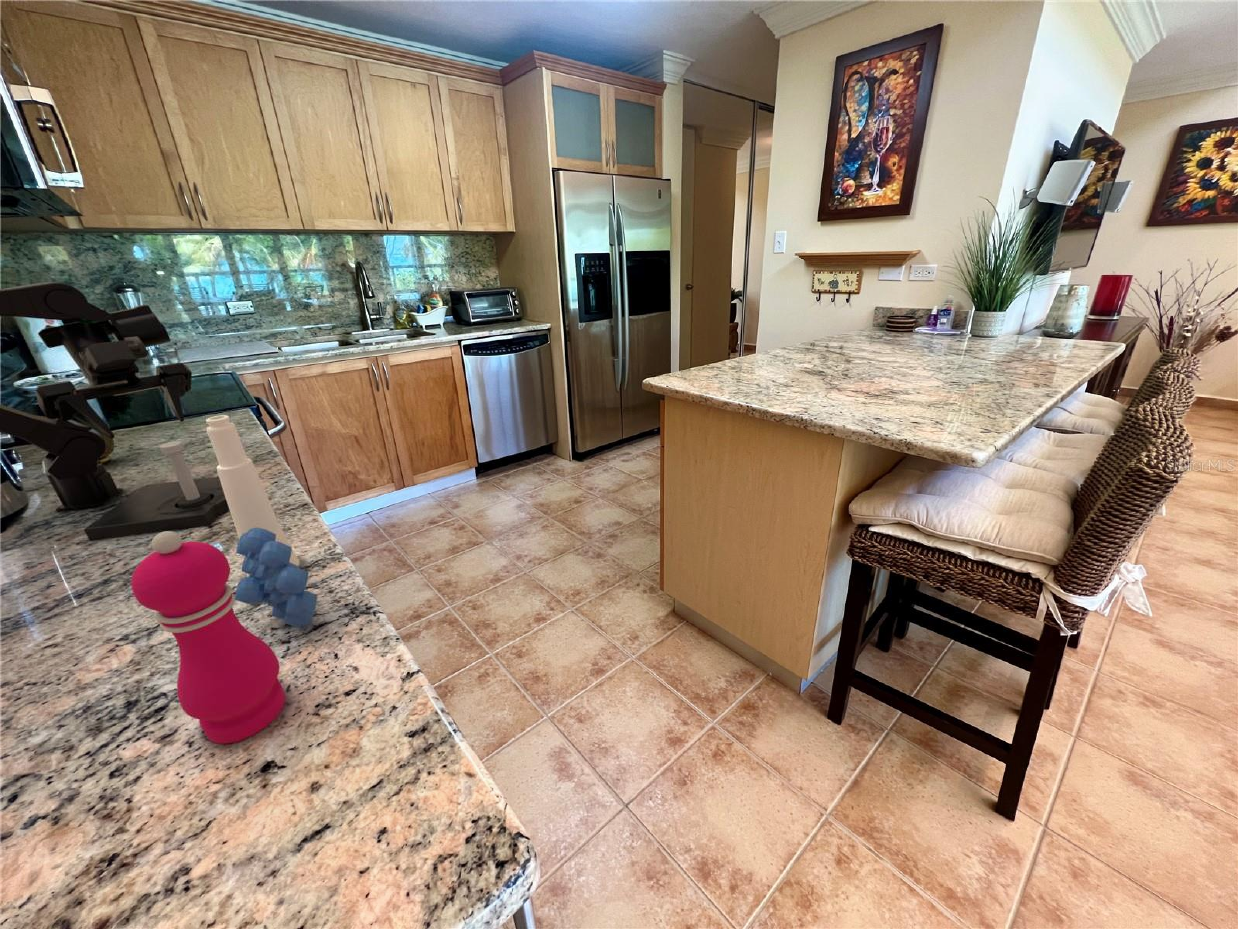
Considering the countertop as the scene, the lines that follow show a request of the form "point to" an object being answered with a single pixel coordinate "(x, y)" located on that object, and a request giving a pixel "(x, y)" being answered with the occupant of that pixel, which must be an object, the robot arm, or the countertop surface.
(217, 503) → the plate
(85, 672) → the countertop surface
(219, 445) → the cosmetic bottle
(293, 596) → the grapes
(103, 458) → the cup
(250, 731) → the pepper mill
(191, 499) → the stopper
